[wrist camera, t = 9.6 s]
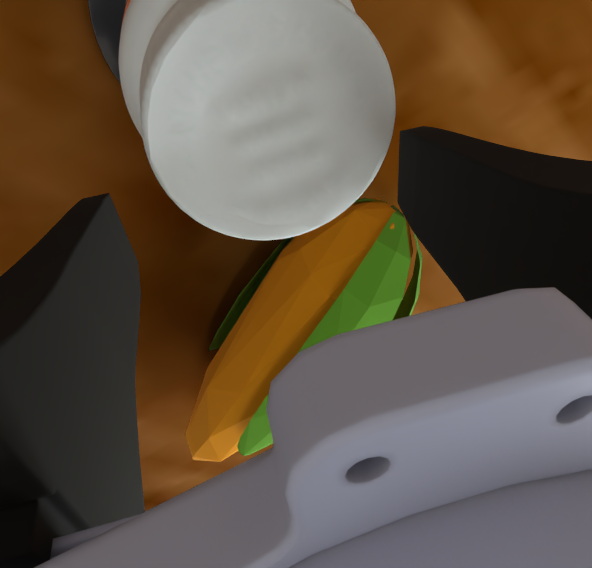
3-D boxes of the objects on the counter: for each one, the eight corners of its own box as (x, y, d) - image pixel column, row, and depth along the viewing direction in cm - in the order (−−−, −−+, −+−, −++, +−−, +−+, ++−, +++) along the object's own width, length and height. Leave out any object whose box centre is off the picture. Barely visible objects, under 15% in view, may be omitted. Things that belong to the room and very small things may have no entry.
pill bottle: (119, -98, 15) (78, -87, 7) (305, -73, 17) (463, -37, 8) (137, 98, 19) (125, 266, 10) (287, 104, 20) (383, 255, 12)
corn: (498, 294, 20) (258, 529, 29) (428, 209, 26) (247, 424, 35) (366, 222, 17) (139, 512, 25) (321, 144, 23) (150, 400, 31)
